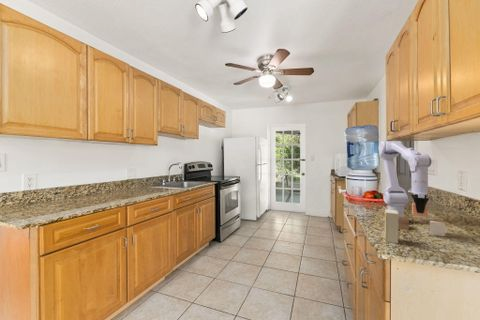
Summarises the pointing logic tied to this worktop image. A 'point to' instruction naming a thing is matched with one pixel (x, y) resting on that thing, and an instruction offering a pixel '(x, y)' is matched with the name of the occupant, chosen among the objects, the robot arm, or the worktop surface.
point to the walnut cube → (403, 223)
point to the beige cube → (437, 228)
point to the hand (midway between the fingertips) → (419, 211)
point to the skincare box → (391, 226)
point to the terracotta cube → (419, 213)
